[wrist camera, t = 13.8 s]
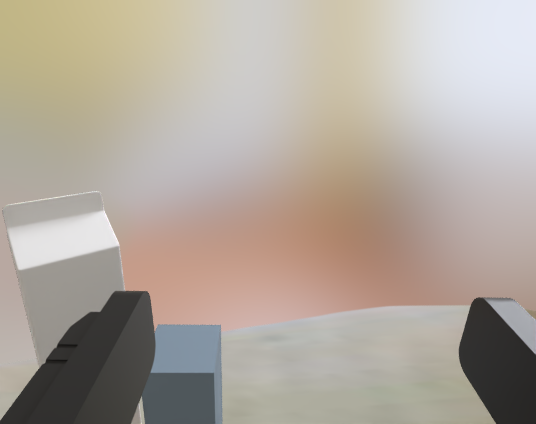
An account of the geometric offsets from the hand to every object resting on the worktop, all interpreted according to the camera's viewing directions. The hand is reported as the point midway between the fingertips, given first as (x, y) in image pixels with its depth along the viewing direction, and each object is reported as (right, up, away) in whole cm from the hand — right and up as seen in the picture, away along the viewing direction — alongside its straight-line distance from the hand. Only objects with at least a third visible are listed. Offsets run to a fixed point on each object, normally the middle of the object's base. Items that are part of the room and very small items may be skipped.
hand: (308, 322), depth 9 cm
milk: (-16, -17, +23) cm, 33 cm away
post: (-6, -18, +17) cm, 26 cm away
